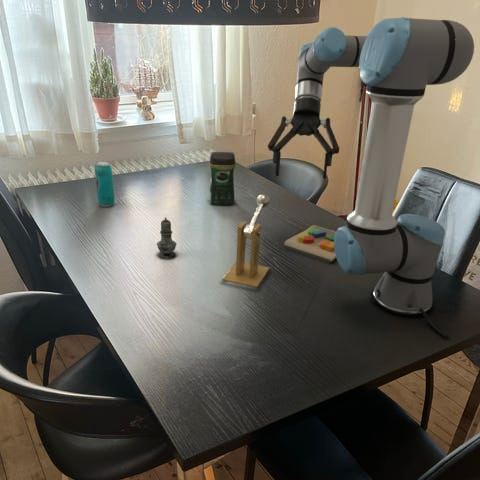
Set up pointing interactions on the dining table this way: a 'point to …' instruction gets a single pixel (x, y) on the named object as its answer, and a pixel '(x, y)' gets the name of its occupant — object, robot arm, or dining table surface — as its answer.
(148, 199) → the dining table surface
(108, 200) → the beverage can
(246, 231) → the tap lever
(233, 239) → the dining table surface
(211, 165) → the coffee jar
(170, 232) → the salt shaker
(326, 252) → the puzzle board
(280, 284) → the dining table surface
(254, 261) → the wooden lever stand
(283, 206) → the dining table surface
